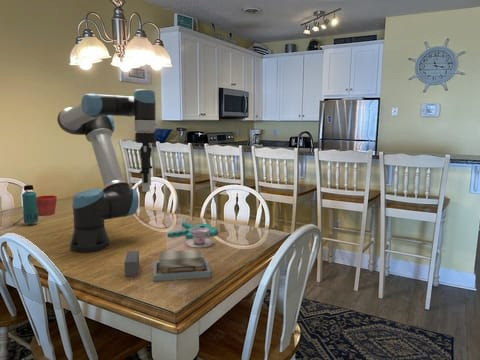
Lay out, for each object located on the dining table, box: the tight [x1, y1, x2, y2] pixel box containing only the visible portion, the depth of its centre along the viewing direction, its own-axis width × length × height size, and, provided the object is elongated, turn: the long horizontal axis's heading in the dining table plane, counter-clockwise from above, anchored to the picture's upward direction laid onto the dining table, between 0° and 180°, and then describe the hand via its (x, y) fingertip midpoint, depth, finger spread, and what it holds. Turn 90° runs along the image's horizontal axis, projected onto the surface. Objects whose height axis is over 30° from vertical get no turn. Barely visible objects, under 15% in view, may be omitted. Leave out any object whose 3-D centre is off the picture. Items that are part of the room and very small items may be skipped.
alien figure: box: [166, 221, 219, 240], centre depth 175 cm, size 20×2×20 cm
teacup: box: [185, 228, 214, 249], centre depth 159 cm, size 12×12×6 cm
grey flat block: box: [158, 248, 205, 269], centre depth 127 cm, size 15×8×3 cm, turn 102°
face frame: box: [152, 258, 212, 282], centre depth 128 cm, size 19×12×4 cm, turn 102°
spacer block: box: [123, 250, 140, 277], centre depth 129 cm, size 4×11×5 cm, turn 12°
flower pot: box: [36, 194, 58, 216], centre depth 204 cm, size 11×11×10 cm
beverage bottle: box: [21, 184, 39, 224], centre depth 182 cm, size 6×7×20 cm
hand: (146, 188), depth 140 cm, fingers open, 13 cm apart
